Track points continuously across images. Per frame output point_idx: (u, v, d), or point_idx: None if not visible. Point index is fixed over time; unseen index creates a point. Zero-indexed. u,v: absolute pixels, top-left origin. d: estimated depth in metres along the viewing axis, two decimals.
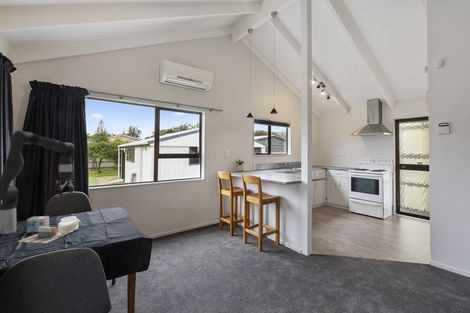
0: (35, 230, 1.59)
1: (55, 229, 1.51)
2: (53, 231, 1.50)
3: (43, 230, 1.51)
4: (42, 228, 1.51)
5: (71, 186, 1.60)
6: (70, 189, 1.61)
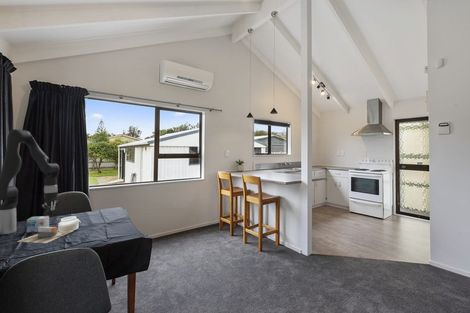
0: (35, 230, 1.59)
1: (55, 229, 1.51)
2: (53, 231, 1.50)
3: (43, 230, 1.51)
4: (42, 228, 1.51)
5: (52, 209, 1.59)
6: None
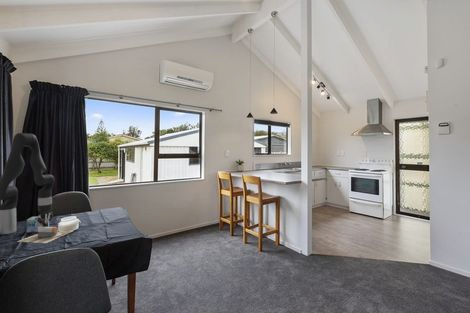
0: (35, 230, 1.59)
1: (55, 229, 1.51)
2: (53, 231, 1.51)
3: (43, 230, 1.51)
4: (42, 228, 1.51)
5: (46, 221, 1.54)
6: None
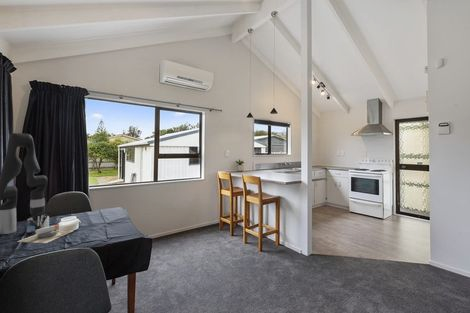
0: None
1: None
2: (57, 228, 1.56)
3: (44, 231, 1.50)
4: (42, 229, 1.49)
5: (39, 224, 1.49)
6: None
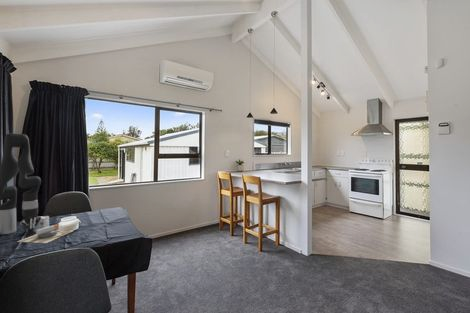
0: (35, 230, 1.59)
1: None
2: (57, 228, 1.56)
3: (44, 231, 1.50)
4: (43, 229, 1.49)
5: (31, 227, 1.44)
6: None
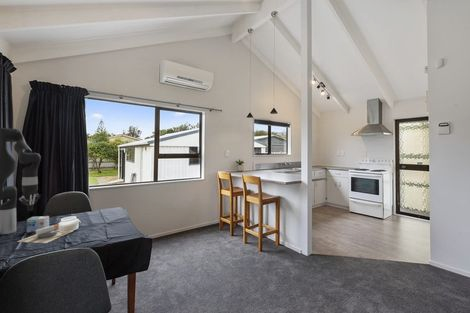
0: (35, 230, 1.59)
1: None
2: (57, 228, 1.56)
3: (44, 231, 1.50)
4: (43, 229, 1.49)
5: (31, 203, 1.44)
6: None
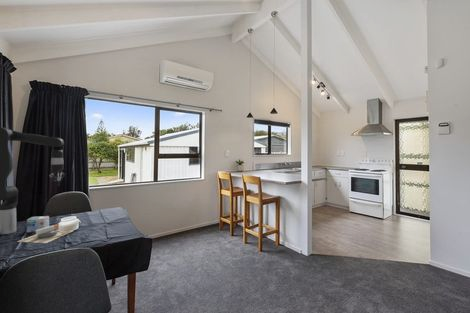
0: (35, 230, 1.59)
1: None
2: (57, 228, 1.56)
3: (44, 231, 1.50)
4: (43, 229, 1.49)
5: (58, 180, 1.73)
6: None
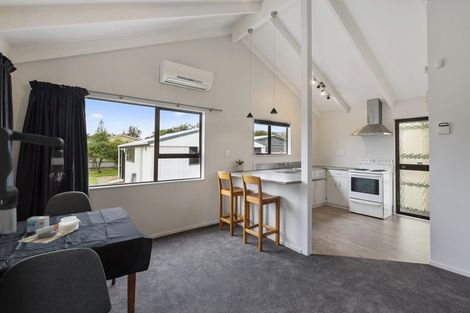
0: (35, 230, 1.59)
1: None
2: (57, 228, 1.56)
3: (44, 231, 1.50)
4: (43, 229, 1.49)
5: (58, 180, 1.73)
6: None
